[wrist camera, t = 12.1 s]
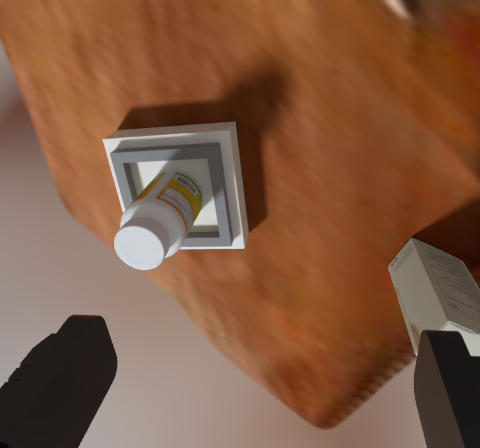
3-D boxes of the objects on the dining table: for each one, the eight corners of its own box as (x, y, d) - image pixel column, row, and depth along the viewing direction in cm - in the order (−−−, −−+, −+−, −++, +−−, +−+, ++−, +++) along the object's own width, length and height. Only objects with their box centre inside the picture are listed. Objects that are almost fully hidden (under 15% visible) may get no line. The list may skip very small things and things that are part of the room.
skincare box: (386, 266, 42) (409, 354, 32) (411, 234, 40) (445, 318, 29) (439, 291, 43) (480, 387, 32) (467, 262, 40) (521, 354, 30)
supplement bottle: (154, 218, 40) (111, 275, 32) (146, 167, 38) (97, 215, 29) (206, 221, 40) (177, 280, 31) (202, 169, 37) (168, 219, 29)
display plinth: (116, 130, 40) (96, 143, 36) (235, 121, 37) (226, 134, 34) (143, 235, 45) (128, 255, 42) (248, 233, 43) (242, 254, 39)
